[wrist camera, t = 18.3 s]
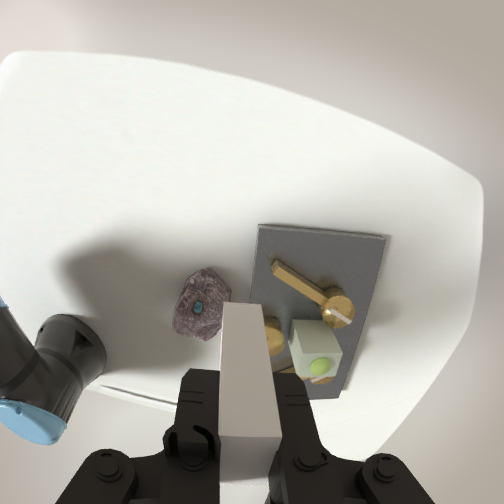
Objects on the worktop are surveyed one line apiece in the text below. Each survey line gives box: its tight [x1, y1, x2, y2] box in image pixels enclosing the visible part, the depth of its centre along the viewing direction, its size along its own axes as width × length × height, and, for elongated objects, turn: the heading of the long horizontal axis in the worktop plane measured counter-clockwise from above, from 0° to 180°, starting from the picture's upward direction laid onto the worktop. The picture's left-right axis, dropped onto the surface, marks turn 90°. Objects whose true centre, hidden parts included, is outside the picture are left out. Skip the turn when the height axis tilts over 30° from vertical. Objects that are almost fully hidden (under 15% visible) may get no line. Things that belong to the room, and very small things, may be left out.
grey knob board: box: [250, 224, 386, 400], centre depth 50 cm, size 20×34×6 cm, turn 175°
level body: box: [288, 319, 343, 377], centre depth 47 cm, size 6×5×10 cm
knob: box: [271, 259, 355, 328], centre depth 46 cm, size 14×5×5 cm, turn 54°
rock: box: [173, 269, 231, 341], centre depth 49 cm, size 8×11×5 cm
